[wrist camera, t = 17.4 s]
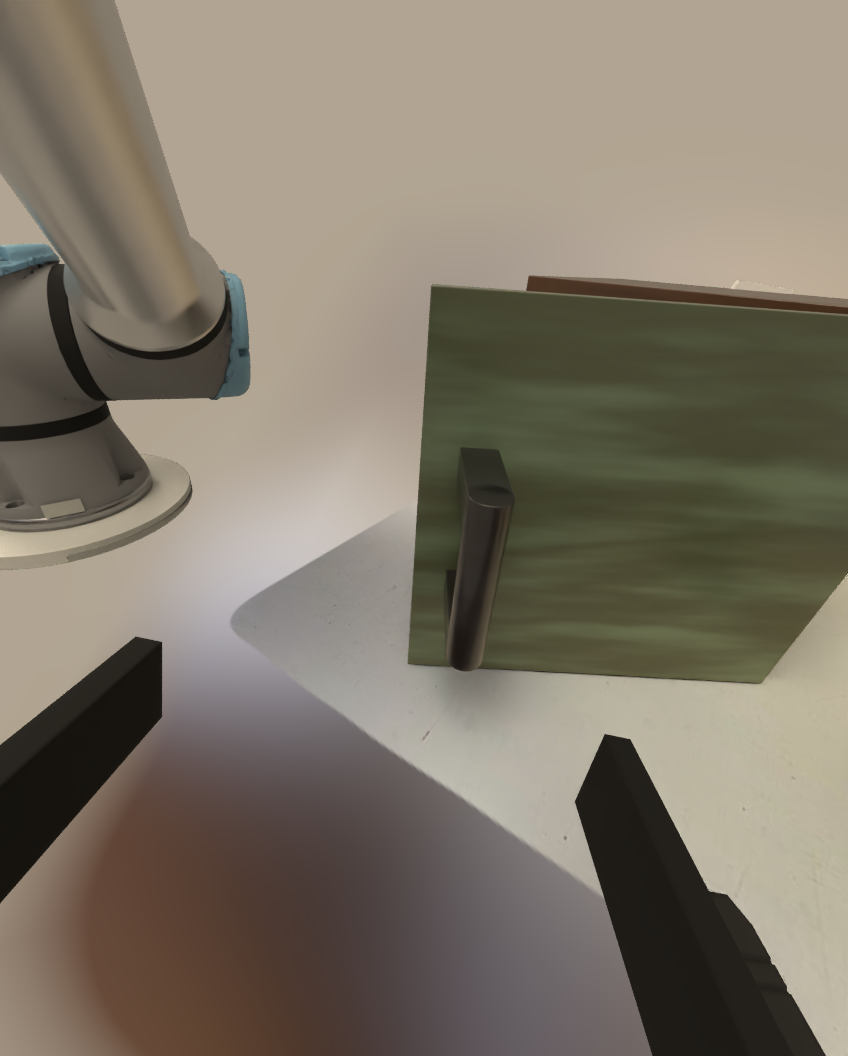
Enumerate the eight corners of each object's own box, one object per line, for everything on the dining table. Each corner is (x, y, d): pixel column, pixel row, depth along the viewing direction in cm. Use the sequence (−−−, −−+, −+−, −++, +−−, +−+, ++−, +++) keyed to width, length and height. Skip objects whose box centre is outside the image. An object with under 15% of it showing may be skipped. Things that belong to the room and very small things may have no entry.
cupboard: (758, 673, 32) (1026, 323, 19) (485, 528, 47) (528, 275, 34) (793, 574, 43) (978, 310, 30) (564, 482, 58) (620, 278, 45)
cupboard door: (824, 765, 26) (1273, 358, 13) (402, 744, 26) (431, 297, 13) (752, 672, 32) (1013, 326, 19) (408, 653, 32) (431, 283, 18)
